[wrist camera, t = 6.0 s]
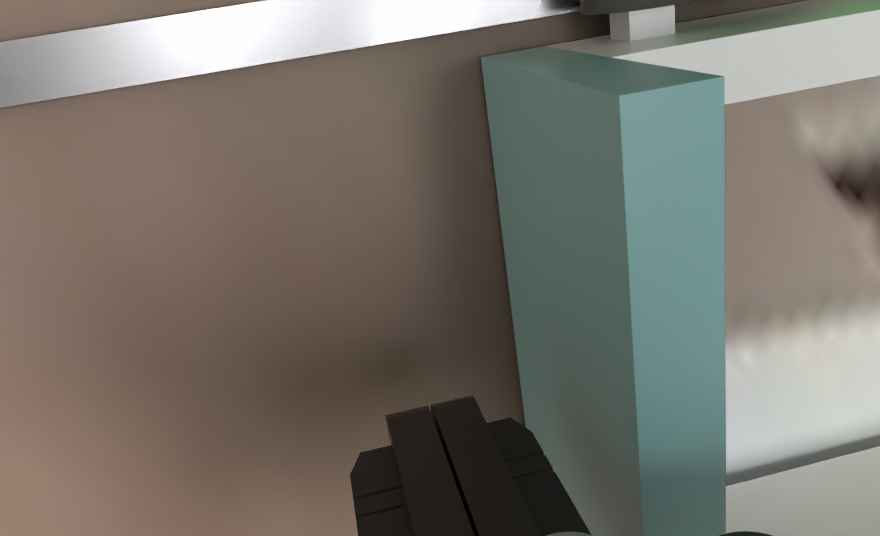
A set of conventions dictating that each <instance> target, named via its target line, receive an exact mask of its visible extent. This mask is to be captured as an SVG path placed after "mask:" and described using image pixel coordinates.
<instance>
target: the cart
mask: <svg viewBox="0 0 880 536" xmlns="http://www.w3.org/2000/svg"><path fill="white" fill-rule="evenodd" d="M691 1H696V0H580V9H581V15H599V14H609V16H610V33H611V35H606V36H600V37H594V38H588V39H583V40H577V41H571V42H565V43H559V44H554V45H548V46H542V47H536V48H531V49H525V50H519V51H513V52H507V53H502V54H496V55H490V56H484V57H481V64H482V72H483V81H484V89H485V97H486V105H487V113H488V122H489V130H490V138H491V146H492V154H493V163H494V171H495V179H496V187H497V196H498V204H499V212H500V220H501V228H502V237H503V245H504V253H505V261H506V269H507V278H508V286H509V294H510V302H511V311H512V319H513V327H514V335H515V343H516V352H517V360H518V368H519V376H520V384H521V393H522V401H523V409H524V417H525V426H526V428H527V429H529V430H530V431H532V433H533V434H534V436H535V438H536V440H537V441H538V443H539V445H540V446H541V448H542V450H543V452H544V456H545V455H546V457H547V459H548V460H549V462H550V464H551V466H552V467H553V471H554V472H556V474H557V476H558V478H559V479H560V481H561V483H562V485H563V486H564V488H565V490H566V492H567V493H568V495H569V497H570V498H571V500H572V502H573V504H574V505H575V507H576V509H577V511H578V512H579V514H580V516H581V518H582V519H583V521H584V523H585V524H586V526H587V528H588V530H589V531H590V533H591V535H593V536H720V535H723V534H726V533H731V532H738V531H751V532H760V533H765V534H769V535H772V536H880V446H878V447H874V448H870V449H867V450H863V451H859V452H855V453H851V454H848V455H844V456H840V457H836V458H832V459H828V460H825V461H821V462H817V463H813V464H809V465H806V466H802V467H798V468H794V469H790V470H786V471H783V472H779V473H775V474H771V475H767V476H764V477H760V478H756V479H752V480H748V481H744V482H741V483H737V484H733V485H729V486H726V422H725V105H726V104H731V103H737V102H742V101H747V100H752V99H758V98H763V97H768V96H773V95H779V94H784V93H789V92H795V91H800V90H805V89H810V88H816V87H821V86H826V85H831V84H837V83H842V82H847V81H853V80H858V79H863V78H868V77H874V76H879V75H880V0H808V1H802V2H797V3H791V4H785V5H779V6H774V7H768V8H762V9H756V10H750V11H745V12H739V13H733V14H727V15H721V16H716V17H710V18H704V19H698V20H693V21H687V22H681V23H675V5H676V4H682V3H687V2H691Z"/></svg>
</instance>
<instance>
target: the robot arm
mask: <svg viewBox="0 0 880 536" xmlns="http://www.w3.org/2000/svg"><path fill="white" fill-rule="evenodd" d="M430 409H431V412H430V410H429V407H428V406H425V407H420V408H416V409H412V410H407V411H403V412H398V413H394V414H390V415H386V421H387V427H388V432H389V437H390V443H391V446H387V447H383V448H378V449H374V450H370V451H366V452H361V453H360V455H359V457H358V459H357V461H356V463H355V466H354V468H353V470H352V472H351V474H350V477H351V485H352V492H353V499H354V507H355V514H356V520H357V528H358V536H593V535H591V533H590V531H589V530H588V528H587V526H586V524H585V523H584V521H583V519H582V518H581V516H580V514H579V512H578V511H577V509H576V507H575V505H574V504H573V502H572V500H571V498H570V497H569V495H568V493H567V492H566V490H565V488H564V486H563V485H562V483H561V481H560V479H559V478H558V476H557V474H556V472H554V471H553V467H552V466H551V464H550V462H549V460H548V459H547V457H546V455H545V456H544V452H543V450H542V448H541V446H540V445H539V443H538V441H537V440H536V438H535V436H534V434H533V433H532V431H530V430H529V429H527V428H526V427H524V426H522V425H521V424H519V423H518V422H516V421H515V420H513V419H512V418H506V419H502V420H497V421H493V422H489V423H486V421H485V419H484V417H483V415H482V413H481V411H480V408H479V406H478V404H477V402H476V400H475V398H474V397H473V396H468V397H464V398H459V399H455V400H450V401H446V402H442V403H437V404H433V405H431V406H430ZM720 536H772V535H769V534H765V533H760V532H751V531H738V532H731V533H726V534H723V535H720Z"/></svg>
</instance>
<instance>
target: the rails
mask: <svg viewBox="0 0 880 536" xmlns="http://www.w3.org/2000/svg"><path fill="white" fill-rule="evenodd" d="M576 11H581V9H580V0H265V1H259V2H253V3H246V4H240V5H233V6H227V7H221V8H214V9H208V10H202V11H195V12H189V13H182V14H176V15H170V16H163V17H157V18H150V19H144V20H138V21H131V22H125V23H118V24H112V25H106V26H99V27H93V28H87V29H80V30H74V31H67V32H61V33H55V34H48V35H42V36H35V37H29V38H23V39H16V40H10V41H3V42H0V108H2V107H8V106H14V105H20V104H26V103H32V102H38V101H44V100H50V99H56V98H62V97H68V96H74V95H80V94H86V93H92V92H98V91H104V90H110V89H116V88H122V87H128V86H134V85H140V84H146V83H152V82H158V81H164V80H170V79H176V78H182V77H188V76H194V75H199V74H205V73H211V72H217V71H223V70H229V69H235V68H241V67H247V66H253V65H259V64H265V63H271V62H277V61H283V60H289V59H295V58H301V57H307V56H313V55H319V54H325V53H331V52H337V51H343V50H349V49H355V48H361V47H367V46H373V45H379V44H385V43H391V42H397V41H403V40H408V39H414V38H420V37H426V36H432V35H438V34H444V33H450V32H456V31H462V30H468V29H474V28H480V27H486V26H492V25H498V24H504V23H510V22H516V21H522V20H528V19H534V18H540V17H546V16H552V15H558V14H564V13H570V12H576Z"/></svg>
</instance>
